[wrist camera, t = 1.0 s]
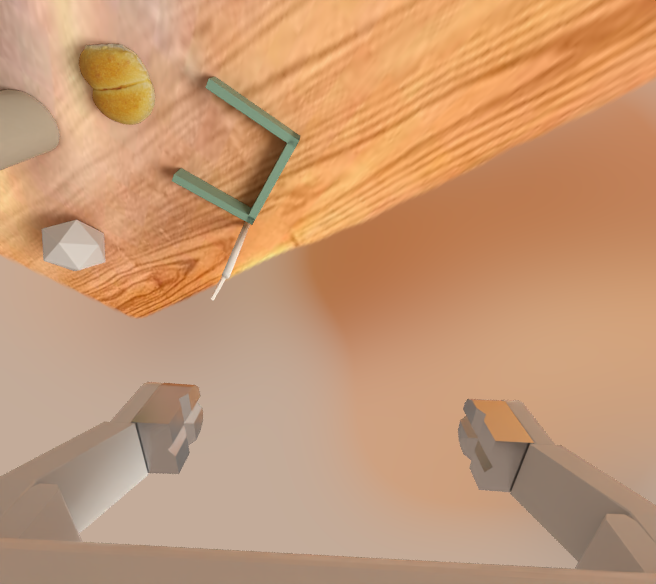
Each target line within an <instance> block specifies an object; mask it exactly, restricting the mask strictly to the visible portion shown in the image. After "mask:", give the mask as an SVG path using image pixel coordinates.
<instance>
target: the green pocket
mask: <svg viewBox="0 0 656 584" xmlns="http://www.w3.org/2000/svg"><path fill="white" fill-rule="evenodd" d="M206 88H207V89H208V90H209V91H211V92H212V93H214V94H215V95H217V96H218V97H220V98H221V99H223V100H224V101H226V102H227V103H229V104H230V105H232V106H233V107H235V108H236V109H238V110H239V111H241V112H242V113H243V114H245V115H246V116H248V117H249V118H251V119H252V120H254V121H255V122H257V123H258V124H260V125H261V126H263V127H264V128H266V129H267V130H269V131H270V132H272V133H273V134H275V135H276V136H278V137H279V138H280V139H282V140H283V141H285V142H286V143H287V144H286V145H285V147H284V149H283V151H282V153H281V155H280V156H279V158H278V160H277V162H276V164H275V166H274V168H273V169H272V171H271V173H270V175H269V177H268V179H267V181H266V182H265V184H264V186H263V188H262V190H261V192H260V194H259V195H258V197H257V199H256V201H255V203H254V205H253V206H252V208H251V207H249V206H247V205H245V204H244V203H242V202H240V201H238V200H237V199H235V198H233V197H231V196H229V195H228V194H226V193H224V192H222V191H221V190H219V189H217V188H215V187H214V186H212V185H210V184H208V183H207V182H205V181H203V180H201V179H200V178H198V177H196V176H194V175H192V174H191V173H189V172H187V171H185V170H184V169H182V168H181V169H180V170H179V171H177V172H176V173H175V174H174V176H173V179H172V181H173V182H175V183H176V184H178V185H180V186H182V187H184V188H186V189H187V190H189V191H191V192H193V193H195V194H196V195H198V196H200V197H202V198H204V199H206V200H207V201H209V202H211V203H213V204H215V205H217V206H218V207H220V208H222V209H224V210H226V211H228V212H229V213H231V214H233V215H235V216H237V217H239V218H240V219H242V220H244V221H245V223H244V225H243V227H242V230H241V232H240V234H239V237H238V239H237V241H236V244H235V246H234V248H233V250H232V253H231V255H230V257H229V260H228V262H227V264H226V267H225V269H224V271H223V274H222V277H221V279H220V281H219V283H218V285H217V286H216V289H215V291H214V293H213V296H212V298H211V299H212V300H214V299H215V297H216V295H217V293H218V291H219V290H220V288H221V286H222V285H223V283H224V281H225V279H228V278H229V277H230V274H231V272H232V269H233V267H234V264H235V262H236V259H237V257H238V254H239V252H240V249H241V247H242V244H243V242H244V239H245V236H246V234H247V231H248V229H249V226H250V224H251V225H252V224H253V222H254V221H255V219H256V217H257V215H258V213H259V212H260V210H261V208H262V206H263V204H264V203H265V201H266V199H267V197H268V196H269V194H270V192H271V190H272V188H273V187H274V185H275V183H276V181H277V179H278V178H279V176H280V174H281V172H282V171H283V169H284V167H285V165H286V163H287V162H288V160H289V158H290V156H291V154H292V153H293V151H294V149H295V147H296V146H297V144H298V142H299V139H300V135H298V134H297V133H295V132H294V131H292V130H291V129H290V128H288V127H287V126H285V125H284V124H282V123H281V122H279V121H278V120H277V119H275V118H274V117H272V116H271V115H269V114H268V113H267V112H265V111H264V110H262V109H261V108H259V107H258V106H256V105H255V104H254V103H252V102H251V101H249V100H248V99H246V98H245V97H244V96H242V95H241V94H239V93H238V92H236V91H235V90H234V89H232V88H231V87H229V86H228V85H226V84H225V83H223V82H222V81H221V80H219V79H218V78H216V77H212V78H209V79H208V82H207V85H206Z"/></svg>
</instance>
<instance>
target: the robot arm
mask: <svg viewBox="0 0 656 584" xmlns="http://www.w3.org/2000/svg"><path fill="white" fill-rule="evenodd" d="M199 398H200V391H199V387H198V386H196V385H187V384H172V383H155V382H147V383H145V384H143V385H142V386H141V387H140V388H139V389H138V390H137V392H136V393H135V394H134V395H133V396H132V397H131V398H130V400H129V401H128V402H127V403H126V404H125V405H124V406H123V408H122V409H121V410H120V411H119V412H118V413H117V414H116V416H115V417H114V418H113V419H112V420H111V421H110V422H103V423H101V424H99V425H97V426H96V427H93V428H92V429H90V430H88V431H86V432H84V433H82V434H80V435H78V436H76V437H74V438H73V439H71V440H69V441H67V442H65V443H63V444H61V445H59V446H57V447H56V448H53V449H52V450H50V451H48V452H46V453H44V454H42V455H40V456H38V457H36V458H34V459H33V460H31V461H29V462H27V463H25V464H23V465H21V466H19V467H17V468H16V469H14V470H12V471H10V472H8V473H6V474H4V475H2V476H0V584H656V505H654V504H653V503H652V502H650V501H648V500H647V499H645V498H644V497H642V496H640V495H639V494H637V493H636V492H634V491H633V490H631V489H629V488H628V487H626V486H624V485H623V484H622V483H620V482H618V481H617V480H615V479H614V478H612V477H611V476H609V475H607V474H606V473H604V472H603V471H601V470H599V469H598V468H596V467H595V466H593V465H592V464H590V463H588V462H587V461H585V460H584V459H582V458H581V457H579V456H577V455H576V454H574V453H573V452H571V451H569V450H568V449H566V448H565V447H563V446H562V445H555V444H554V442H553V441H552V440H551V439H550V437H549V436H548V435H547V433H546V432H545V431H544V429H543V428H542V427H541V426H540V424H539V423H538V422H537V420H536V419H535V418H534V416H533V415H532V414H531V413H530V411H529V410H528V409H527V407H526V406H525V405H524V404H523V403H522V402H520V401H518V400H515V401H514V400H481V399H467V401H466V402H465V405H464V408H463V410H464V412H465V414H466V416H465V417H464V418H463V419H461V420H460V424H459V428H458V435H459V442H460V446H461V449H462V451H463V454H464V455H466V456H467V457H468V458H469V459H470V460H471V464H470V470H471V472H472V474H473V477H474V479H475V481H476V484H477V486H478V488H479V490H490V491H502V492H511V493H510V494H511V495H512V496H513V497H514V498H515V499H516V500H517V501H518V502H519V503H520V504H521V505H522V506H523V507H524V508H525V509H526V510H527V511H528V512H529V513H530V514H531V515H532V516H533V517H534V518H535V519H536V520H537V521H538V522H539V523H540V524H541V525H542V526H543V527H544V528H545V529H546V530H547V531H548V532H549V533H550V534H551V535H552V536H553V537H554V538H555V539H556V540H557V541H558V542H559V543H560V544H561V545H562V546H563V547H564V548H565V549H566V550H567V551H568V552H569V553H570V554H571V555H572V556H573V557H574V558H575V559H576V560H577V561H578V564H577V566H576V567H575V569H566V568H549V567H531V566H513V565H494V564H476V563H475V564H474V563H457V562H438V561H420V560H400V559H382V558H365V557H346V556H329V555H311V554H293V553H275V552H274V553H273V552H257V551H239V550H221V549H203V548H185V547H167V546H148V545H130V544H112V543H94V542H82V540H81V537H80V535H79V533H80V532H81V531H83V530H84V529H85V528H86V527H87V526H89V525H90V524H91V523H92V522H93V521H95V520H96V519H97V518H98V517H99V516H100V515H102V514H103V513H104V512H105V511H106V510H107V509H109V508H110V507H111V506H112V505H113V504H115V503H116V502H117V501H118V500H119V499H120V498H121V497H123V496H124V495H125V494H126V493H127V492H129V491H130V490H131V489H132V488H133V487H134V486H136V485H137V484H138V483H139V482H140V481H142V480H143V479H144V478H145V477H146V476H147V475H148V473H169V474H171V473H172V474H179V473H180V471H181V469H182V467H183V465H184V463H185V461H186V459H187V457H188V455H189V448H188V446H189V445H190V444H191V443H193V442H194V441H195V440H196V439H197V437H198V435H199V433H200V430H201V426H202V422H203V410H202V407H201V406H200V405H199V404H198V403H197V401H198V399H199Z"/></svg>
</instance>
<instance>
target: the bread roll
mask: <svg viewBox="0 0 656 584" xmlns="http://www.w3.org/2000/svg"><path fill="white" fill-rule="evenodd" d="M79 66H80V71H81V74H82V75H83V77H84V79H85V80H86V81H87V82H88V83H89V84H90V85H91V87H92V88H93V94H92V96H93V101H94V103H95V105H96V106H97V108H98V109H99V110H100V111H101V112H102V113H103V114H104V115H106V116H107V117H108V118H110V119H112V120H114V121H117V122H119V123H123V124H128V125H133V124H138V123H140V122H142V121H143V120H145V119H146V118H147V117H148V116H149V115H150V114H151V112H152V110H153V108H154V104H155V92H154V88H153V85H152V83H151V81H150V78H149V74H148V72H147V70H146V68H145V66H144V64H143V63H142V61H141V60H140V59H139V58H138V56H137V55H136V54H135V53H134V52H133V51H131V50H130V49H128V48H127V47H124V46H123V45H121V44H99V45H85V49H84V50H83V51H82V53H81V55H80V59H79Z"/></svg>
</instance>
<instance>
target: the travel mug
mask: <svg viewBox="0 0 656 584" xmlns="http://www.w3.org/2000/svg"><path fill="white" fill-rule="evenodd" d="M58 143H59V129H58V126H57V124H56V122H55V120H54V118H53V116H52V115H51V114H50V112H49V111H48V110H47V109H46V108H45V107H44V106H43V105H42V104H41V103H40V102H39V101H38V100H36V99H35V98H33V97H32V96H30V95H28V94H26V93H24V92H21V91H18V90H12V89H8V90H1V91H0V170H2V169H5V168H8V167H10V166H13V165H15V164H18V163H21V162H23V161H26V160H28V159H31V158H34V157H36V156H39V155H42V154H44V153H47V152H49V151H52V150H53V149H55V148H56V147H57V145H58Z"/></svg>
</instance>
